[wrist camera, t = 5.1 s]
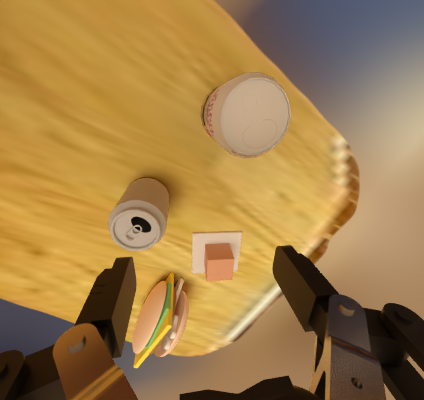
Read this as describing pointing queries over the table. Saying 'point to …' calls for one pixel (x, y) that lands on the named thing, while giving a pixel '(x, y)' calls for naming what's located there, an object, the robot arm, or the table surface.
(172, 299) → the hamburger
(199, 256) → the pad
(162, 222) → the can
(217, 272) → the block
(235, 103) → the supplement can
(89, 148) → the table surface
